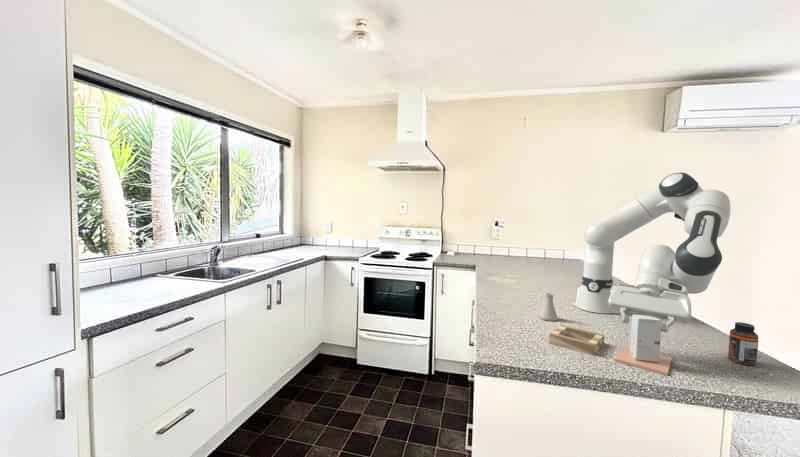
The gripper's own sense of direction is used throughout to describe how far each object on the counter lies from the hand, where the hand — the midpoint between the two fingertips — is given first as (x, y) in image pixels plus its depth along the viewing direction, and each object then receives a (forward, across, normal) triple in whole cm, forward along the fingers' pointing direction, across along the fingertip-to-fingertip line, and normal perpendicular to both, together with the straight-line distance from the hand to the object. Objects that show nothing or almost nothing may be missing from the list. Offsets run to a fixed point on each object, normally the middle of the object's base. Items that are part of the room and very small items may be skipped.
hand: (643, 326), depth 99 cm
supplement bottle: (-7, +21, +22) cm, 31 cm away
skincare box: (+7, +1, +6) cm, 9 cm away
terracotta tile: (+8, +1, +6) cm, 10 cm away
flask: (-6, -34, +21) cm, 40 cm away
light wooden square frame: (+8, -17, +6) cm, 20 cm away
